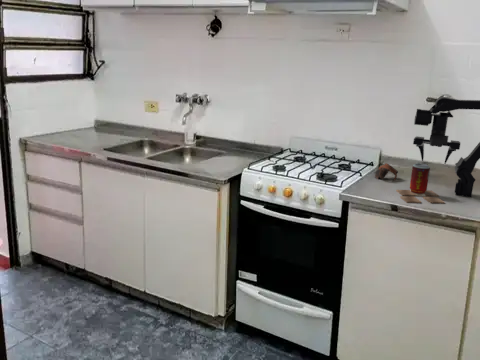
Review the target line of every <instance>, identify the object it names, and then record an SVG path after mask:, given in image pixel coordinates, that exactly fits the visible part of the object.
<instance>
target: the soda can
mask: <svg viewBox="0 0 480 360" xmlns="http://www.w3.org/2000/svg"><path fill="white" fill-rule="evenodd" d="M430 171H431V166H429V165H428V164H426V163H414V164H413V165H412V169H411V174H410V183H409V190H411V192H412V193H415V194H424V193H425V191H426V190H428V183H429V178H430Z"/></svg>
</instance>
